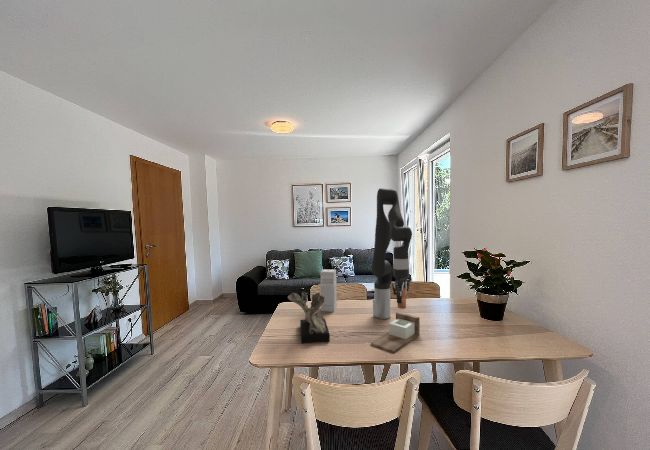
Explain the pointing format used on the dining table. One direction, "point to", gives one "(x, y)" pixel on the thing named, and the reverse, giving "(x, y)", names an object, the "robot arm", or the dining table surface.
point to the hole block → (401, 328)
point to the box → (328, 290)
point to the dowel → (403, 299)
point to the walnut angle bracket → (394, 342)
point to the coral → (311, 319)
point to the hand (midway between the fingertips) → (401, 301)
